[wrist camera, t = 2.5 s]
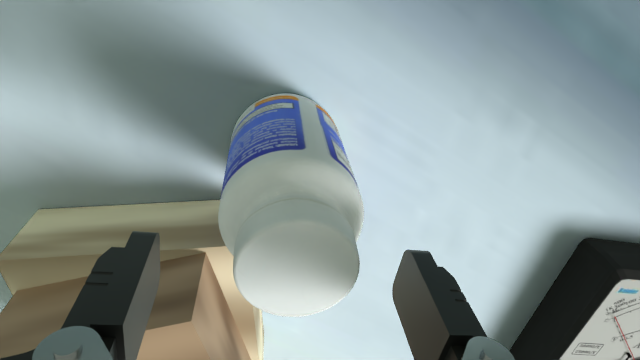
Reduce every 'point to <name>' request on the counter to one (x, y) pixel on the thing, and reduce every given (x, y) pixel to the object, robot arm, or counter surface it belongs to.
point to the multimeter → (588, 308)
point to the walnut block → (163, 325)
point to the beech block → (114, 231)
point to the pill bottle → (290, 208)
